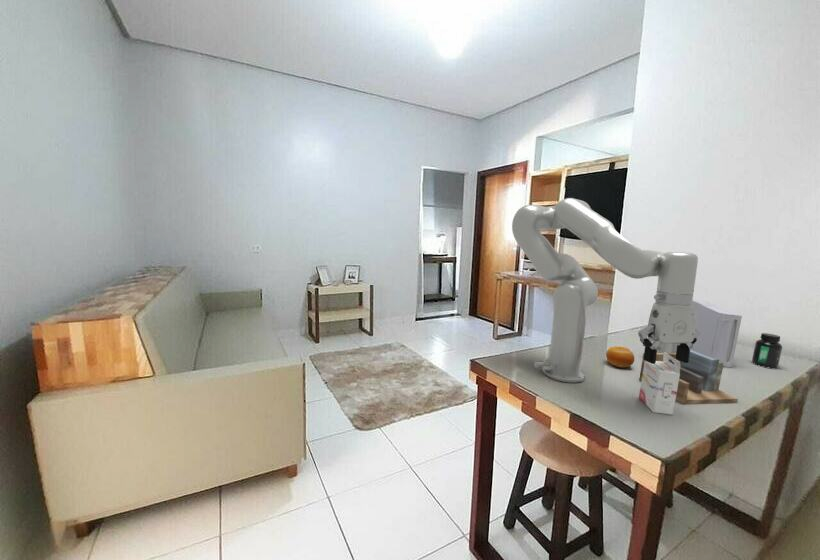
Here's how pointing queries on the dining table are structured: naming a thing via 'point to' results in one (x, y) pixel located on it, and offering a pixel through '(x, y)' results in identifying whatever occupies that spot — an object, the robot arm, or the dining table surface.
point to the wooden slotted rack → (698, 379)
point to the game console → (716, 331)
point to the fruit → (620, 356)
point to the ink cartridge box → (660, 384)
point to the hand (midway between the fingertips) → (665, 361)
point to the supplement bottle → (767, 351)
